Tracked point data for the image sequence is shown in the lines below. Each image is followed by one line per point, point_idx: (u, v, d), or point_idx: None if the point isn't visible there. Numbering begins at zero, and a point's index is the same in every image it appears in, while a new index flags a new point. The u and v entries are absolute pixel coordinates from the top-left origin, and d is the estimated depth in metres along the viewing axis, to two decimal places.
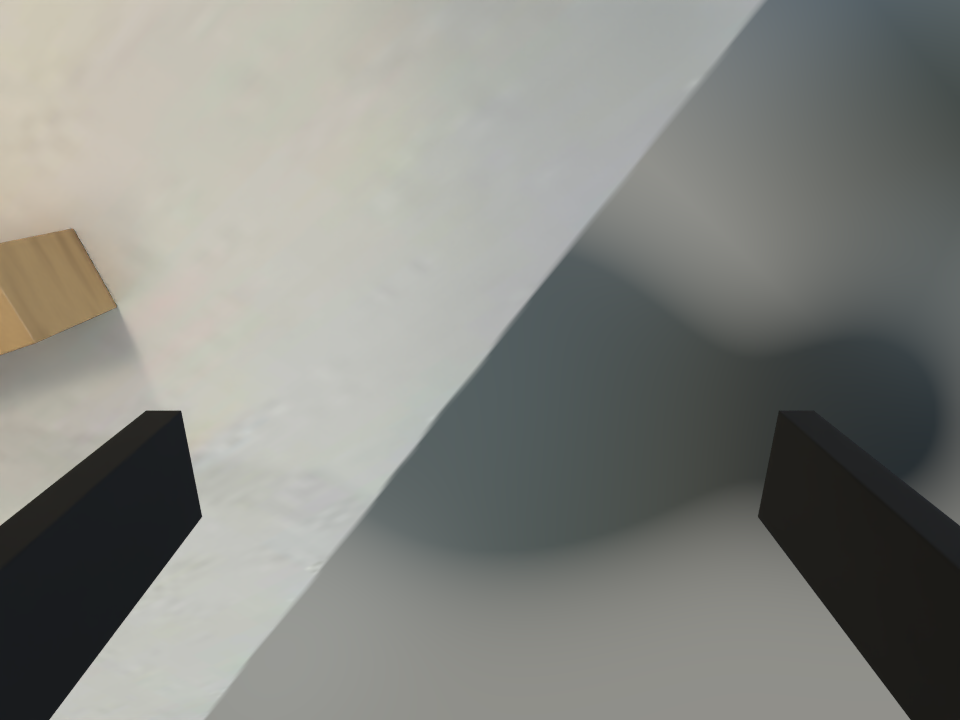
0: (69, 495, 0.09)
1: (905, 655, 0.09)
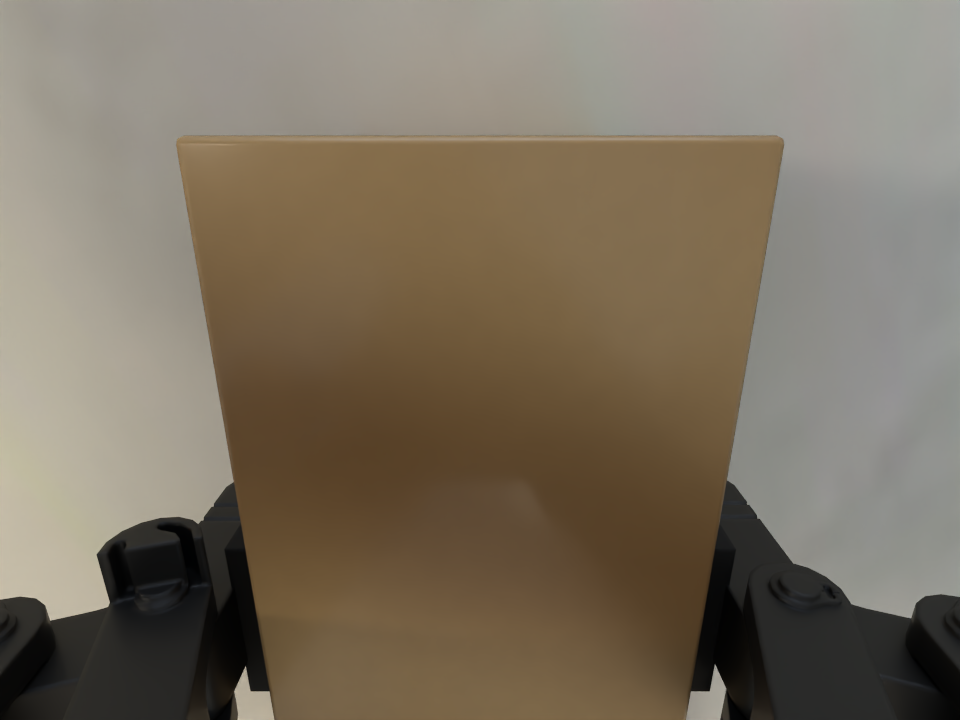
0: None
1: None
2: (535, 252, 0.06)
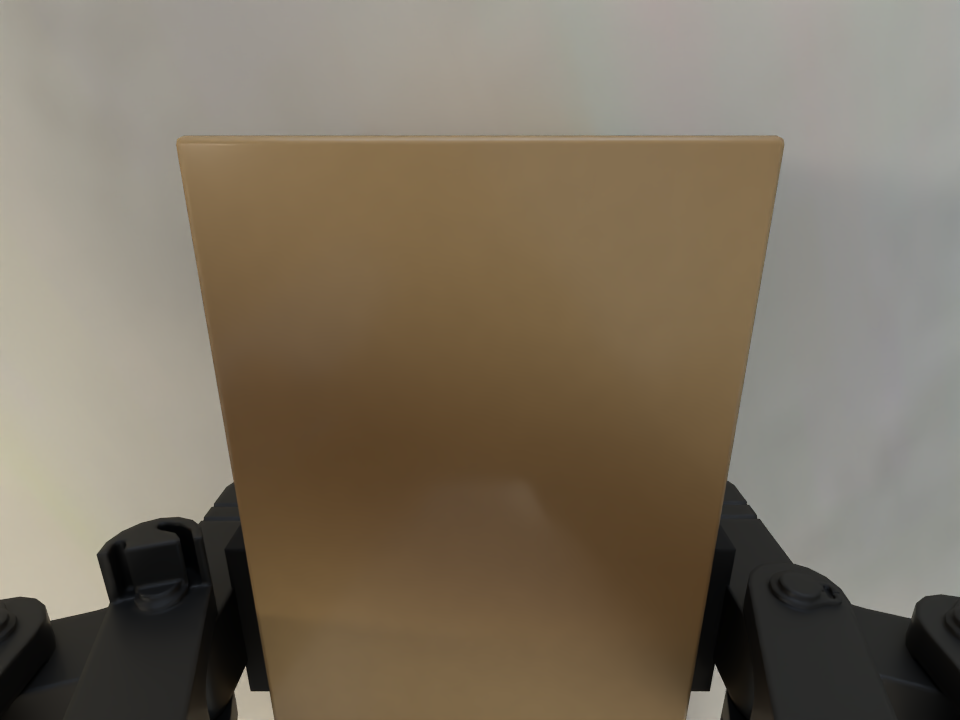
0: None
1: None
2: (534, 252, 0.06)
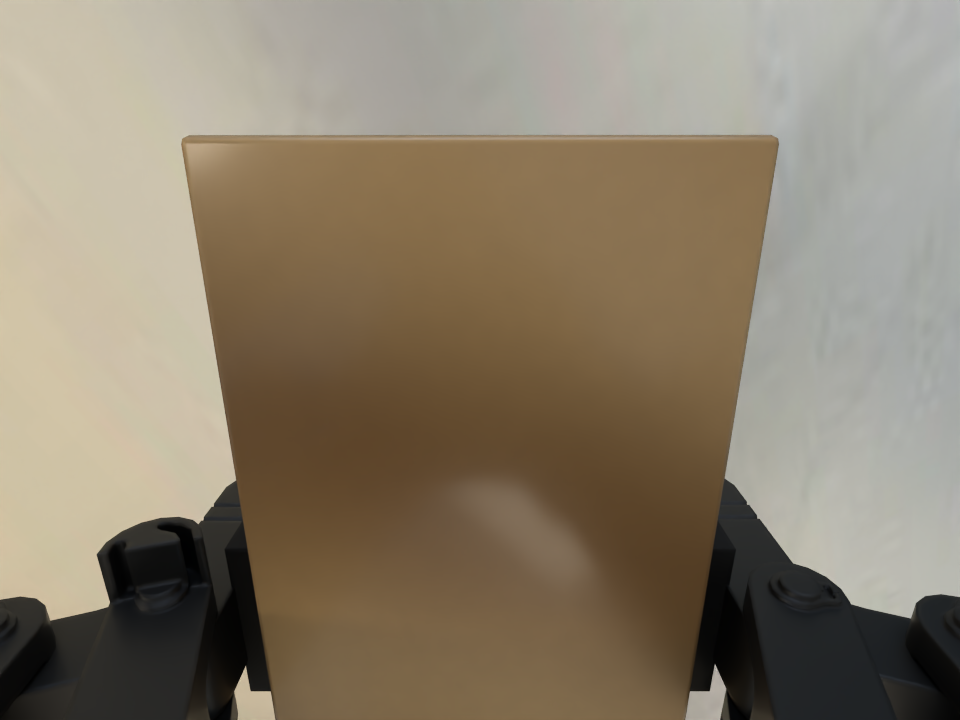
0: None
1: None
2: (533, 251, 0.06)
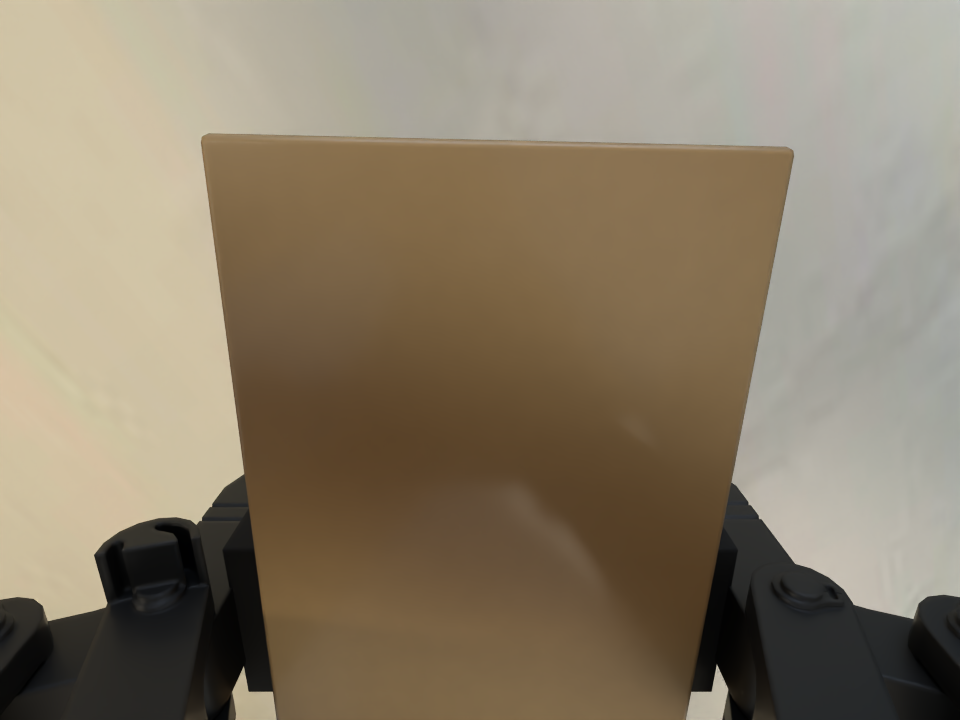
0: None
1: None
2: (549, 256, 0.06)
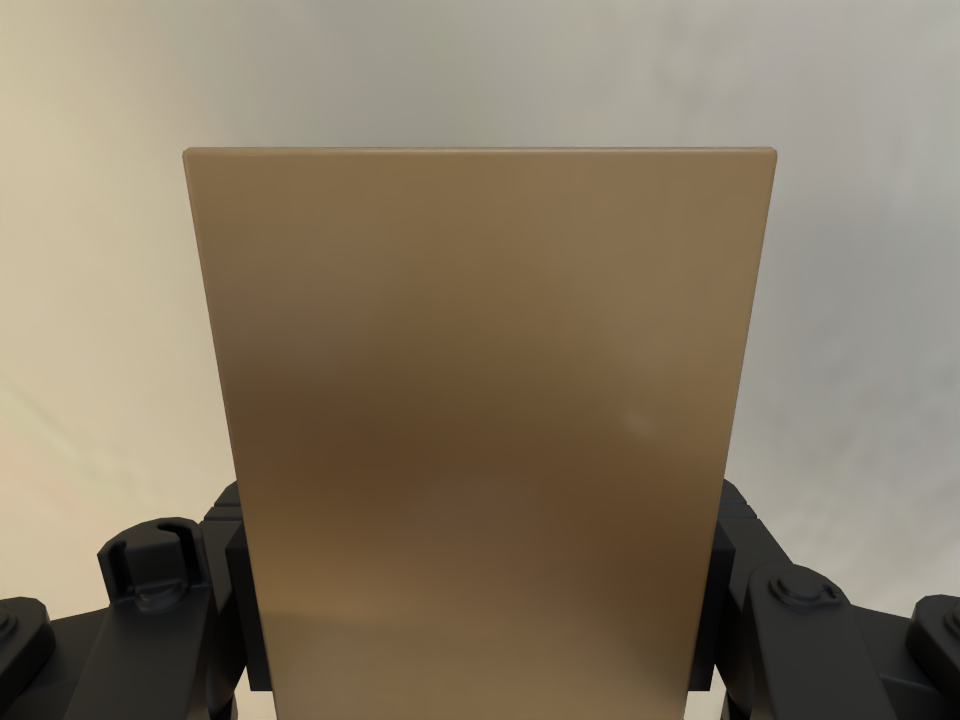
0: None
1: None
2: (533, 262, 0.06)
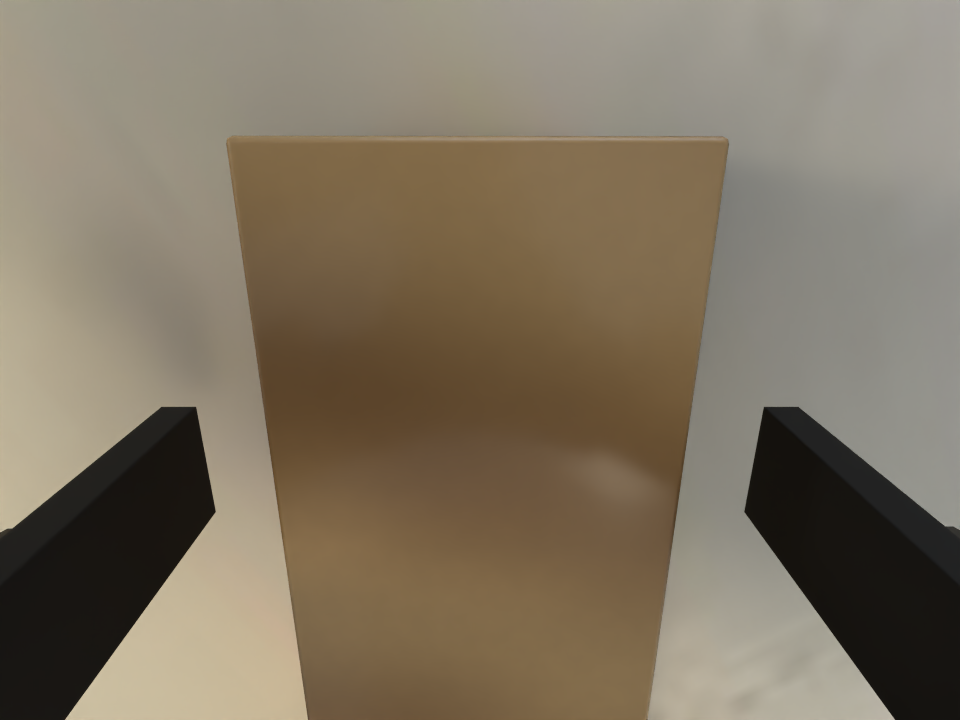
0: (91, 489, 0.10)
1: (881, 644, 0.09)
2: (523, 234, 0.07)
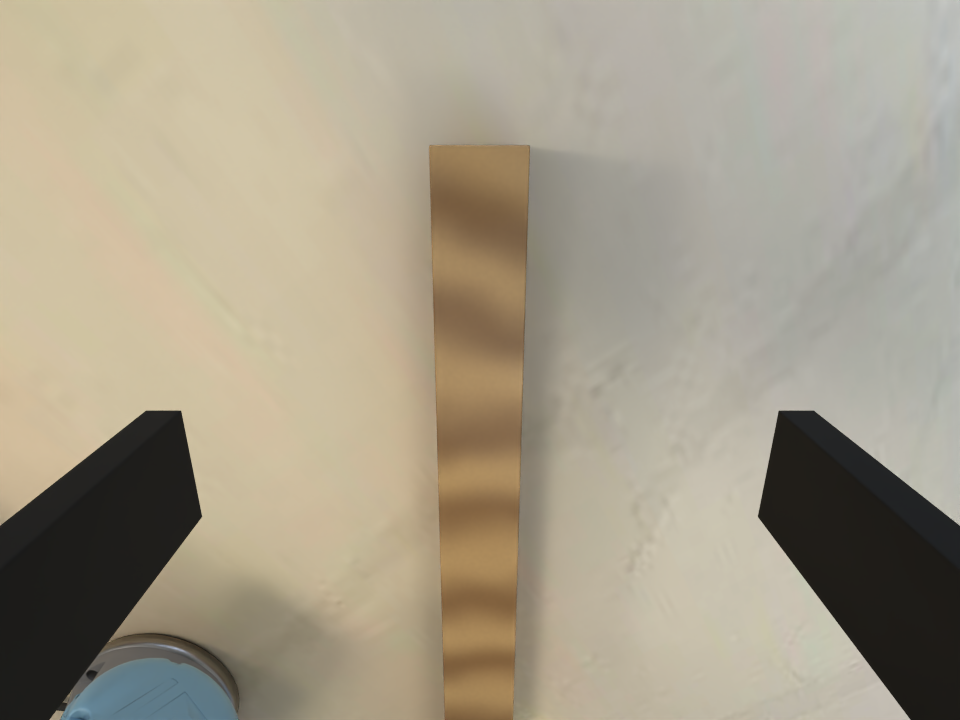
0: (69, 495, 0.09)
1: (904, 655, 0.09)
2: (488, 165, 0.33)
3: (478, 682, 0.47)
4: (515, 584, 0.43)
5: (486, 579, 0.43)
